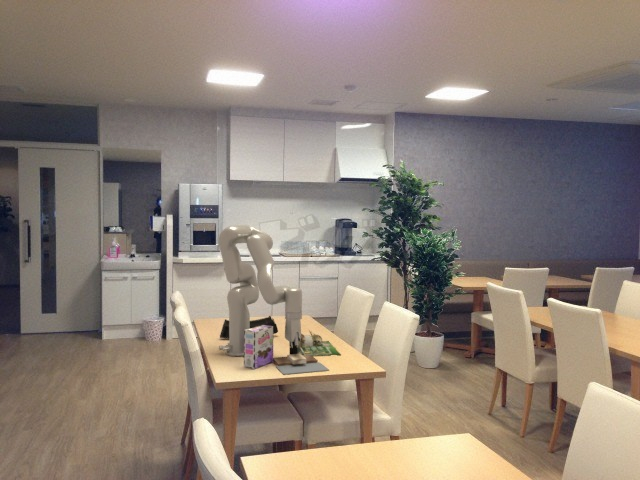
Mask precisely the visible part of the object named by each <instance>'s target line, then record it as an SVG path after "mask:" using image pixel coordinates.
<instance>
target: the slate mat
mask: <svg viewBox="0 0 640 480" xmlns="http://www.w3.org/2000/svg"><path fill="white" fill-rule="evenodd" d="M275 368H276V369H277V370H278V371H279V372H280V373H281V374H282V375H284V376H286V375H297V374H309V373H317V372H318V373H319V372H330V369H329V368H328V367H327V366H325V365H324V364H322V363H321V362H320V361H318V363H308V364H296V365H285V366H277V365H275Z"/></svg>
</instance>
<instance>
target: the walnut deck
mask: <svg viewBox="0 0 640 480" xmlns="http://www.w3.org/2000/svg"><path fill="white" fill-rule="evenodd" d="M302 356H304V357H305V358H306V363H304V364H308V363H319V361H318V359H317V358H315V356H311V355H302ZM272 363H273V364H275V366H285V365H296V364H292V363H291V362H290V361H289V360H288V359H287V356H280V357H279V356H278V357H273V362H272Z"/></svg>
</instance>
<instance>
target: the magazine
mask: <svg viewBox="0 0 640 480" xmlns="http://www.w3.org/2000/svg"><path fill="white" fill-rule="evenodd" d="M261 325H268V326H273V335H275V334H277V333H278V332H279V330H278V326H277V324H276V322H275V320H274V317H272V316H271V315H268V317H264V318H260V319H259V318H258V319H253V320H250V328H254V327H258V326H261ZM219 339H229V319H228V320H227V318H226V319H224V321H223V324H222V328H221V332H220V334H219Z"/></svg>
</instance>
